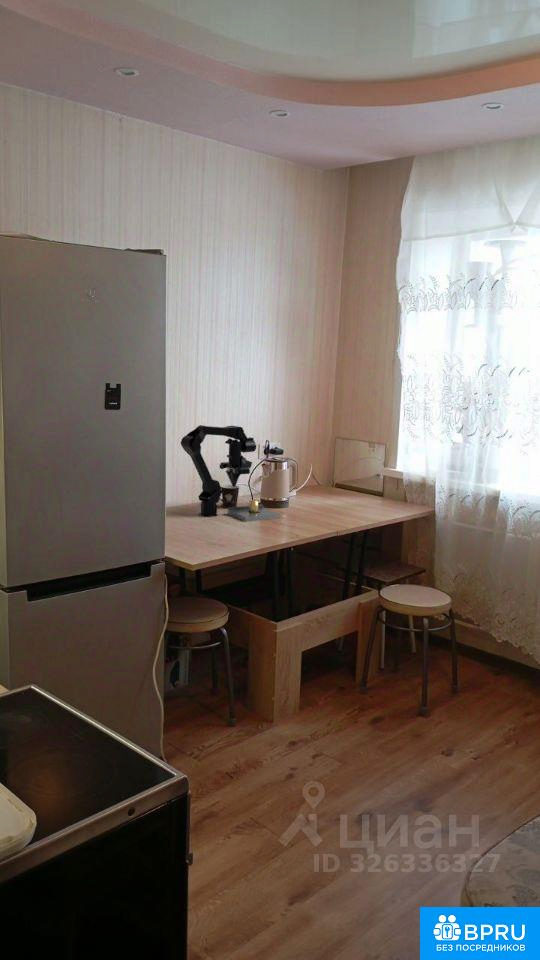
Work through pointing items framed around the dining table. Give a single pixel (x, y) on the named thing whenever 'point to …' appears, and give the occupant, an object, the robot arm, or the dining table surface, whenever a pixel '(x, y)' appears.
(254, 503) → the gold rounded cylinder
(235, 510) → the jig
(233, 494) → the coffee mug
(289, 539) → the dining table surface
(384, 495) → the dining table surface
